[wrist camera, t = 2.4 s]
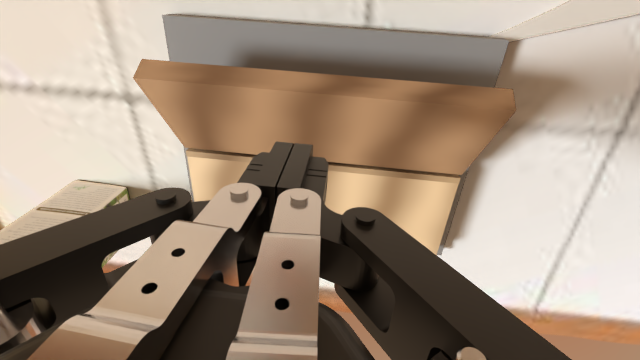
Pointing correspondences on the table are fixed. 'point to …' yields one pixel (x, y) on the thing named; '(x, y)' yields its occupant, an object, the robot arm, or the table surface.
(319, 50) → the board
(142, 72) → the walnut plank
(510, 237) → the table surface
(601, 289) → the table surface
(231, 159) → the oak plank
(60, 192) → the syrup box
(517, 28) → the corner molding
